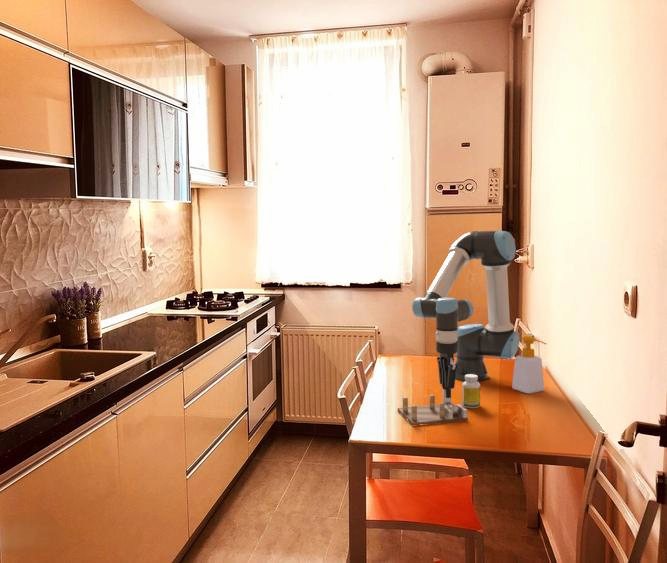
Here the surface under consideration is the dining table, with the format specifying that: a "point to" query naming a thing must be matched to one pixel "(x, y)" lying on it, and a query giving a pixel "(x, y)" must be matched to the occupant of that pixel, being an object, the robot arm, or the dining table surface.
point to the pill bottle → (471, 391)
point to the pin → (453, 408)
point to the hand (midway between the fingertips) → (446, 405)
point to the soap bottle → (528, 369)
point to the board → (431, 413)
